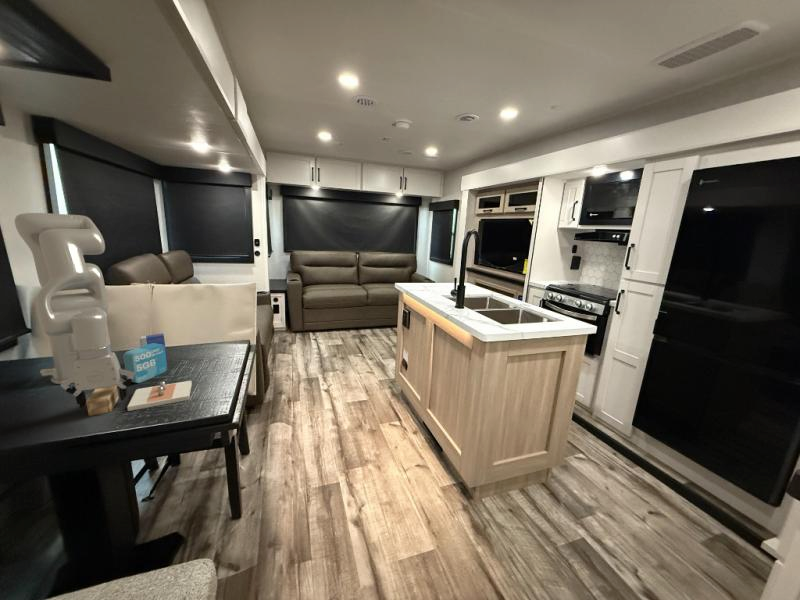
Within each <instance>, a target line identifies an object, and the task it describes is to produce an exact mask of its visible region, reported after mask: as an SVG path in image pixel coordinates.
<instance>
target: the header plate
mask: <svg viewBox="0 0 800 600" xmlns="http://www.w3.org/2000/svg"><path fill="white" fill-rule="evenodd" d="M192 384H193V382H192V380H185V381H180V382H174V383H167V384H166V383H165V388H166V389H165V390H163V393H164V395H163V396H158V387H160V385H155V386H148V387H142V388H137V389H136V390H135V391H134V392H133V395H132V396H131V399H130V401H129V403H128V405H127V406H126V408H127V412H131V411H136V410H141V409H147V408H153V407H158V406H163V405H169V404H175V403H181V402H183V401H184V402H185V401H189V399H190V396H191V395H190V394H191V390H192V386H193V385H192Z"/></svg>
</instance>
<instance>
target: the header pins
mask: <svg viewBox="0 0 800 600" xmlns="http://www.w3.org/2000/svg"><path fill="white" fill-rule="evenodd" d="M165 385H166V383H165V380H161V381H160V382H159V386H160V387H158V396H163V395H164V393H163V390H165V389H166V388H165Z"/></svg>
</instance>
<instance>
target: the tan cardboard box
mask: <svg viewBox="0 0 800 600" xmlns="http://www.w3.org/2000/svg"><path fill="white" fill-rule="evenodd" d="M119 396H120V395H119V389H118V386H117V385H115V386H111V387H105V388H99V389H93V392H92V393H91V394H90V396H89V397H88V398H87V399H86V404H85V405H86V408H87V412H88V413H87V414H88V417H91V416H95V415H96V416H97V415H102V414H108V413H111V412H112V411H113V409H114V407H115V406H116V404H117V402H118V400H119V399H120V397H119Z"/></svg>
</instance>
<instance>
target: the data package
mask: <svg viewBox="0 0 800 600" xmlns="http://www.w3.org/2000/svg"><path fill="white" fill-rule="evenodd" d="M165 349H166V346H165V347H164V345H162V344H156V343H151V344H148V345H145V346H142V347H141V346H139V347H136V348H133V349H130V350H128V351H126V352H124V353H123V355H122V358H123V362H124V363H123V364H124V370H127V371H132V372H135V373H136V374H135V376H134V378H133V380H132V382H131V383H137V384H141V383H144V382H145V381H148V380H150V379H153V378H155V377H157V376H159V375H161V374H162V375H163V374H164V373H165V372H167V369H168V364H167V363H168V362H167V360H166V357H167V354H166V355H165ZM125 377H126V380H127V379H128V378H129V377H128V376H125Z"/></svg>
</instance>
